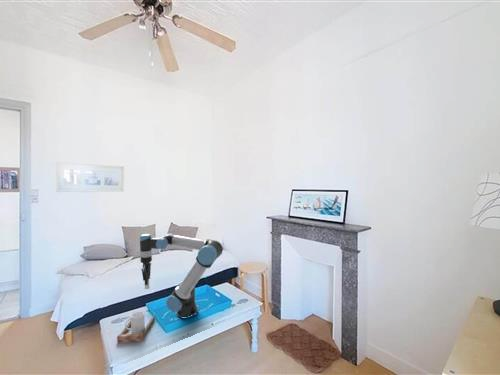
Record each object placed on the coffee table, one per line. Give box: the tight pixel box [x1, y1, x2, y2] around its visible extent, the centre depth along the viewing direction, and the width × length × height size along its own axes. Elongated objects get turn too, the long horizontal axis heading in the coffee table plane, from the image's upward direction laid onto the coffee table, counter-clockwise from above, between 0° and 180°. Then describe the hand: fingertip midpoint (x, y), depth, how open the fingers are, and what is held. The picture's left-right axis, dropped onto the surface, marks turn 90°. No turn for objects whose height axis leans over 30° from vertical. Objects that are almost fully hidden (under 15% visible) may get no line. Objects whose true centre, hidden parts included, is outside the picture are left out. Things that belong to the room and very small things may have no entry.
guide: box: [116, 316, 156, 344], centre depth 169 cm, size 15×24×4 cm, turn 2°
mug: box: [124, 310, 146, 334], centre depth 167 cm, size 12×8×12 cm
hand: (147, 288), depth 183 cm, fingers closed
